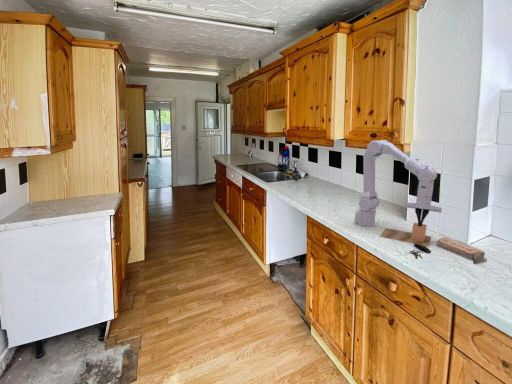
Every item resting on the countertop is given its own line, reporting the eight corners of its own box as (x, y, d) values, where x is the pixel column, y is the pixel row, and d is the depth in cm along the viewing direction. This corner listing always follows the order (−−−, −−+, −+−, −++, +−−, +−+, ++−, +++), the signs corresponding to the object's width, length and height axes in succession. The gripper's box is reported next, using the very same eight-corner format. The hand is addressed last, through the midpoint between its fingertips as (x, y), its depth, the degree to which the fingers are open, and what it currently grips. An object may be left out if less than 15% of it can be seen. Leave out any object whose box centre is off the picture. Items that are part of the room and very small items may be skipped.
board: (379, 239, 140) (379, 236, 140) (385, 230, 151) (385, 227, 151) (429, 249, 130) (429, 246, 129) (430, 239, 141) (431, 236, 141)
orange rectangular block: (410, 239, 137) (412, 225, 135) (412, 236, 141) (414, 222, 140) (423, 242, 134) (426, 227, 133) (424, 238, 138) (426, 224, 137)
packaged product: (489, 250, 119) (472, 254, 115) (487, 262, 120) (469, 265, 116) (447, 234, 135) (430, 237, 132) (445, 244, 136) (429, 247, 133)
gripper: (405, 195, 133) (401, 224, 137) (443, 200, 126) (438, 231, 129) (407, 192, 139) (403, 220, 142) (443, 196, 132) (438, 226, 135)
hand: (419, 225), depth 136 cm, fingers closed
